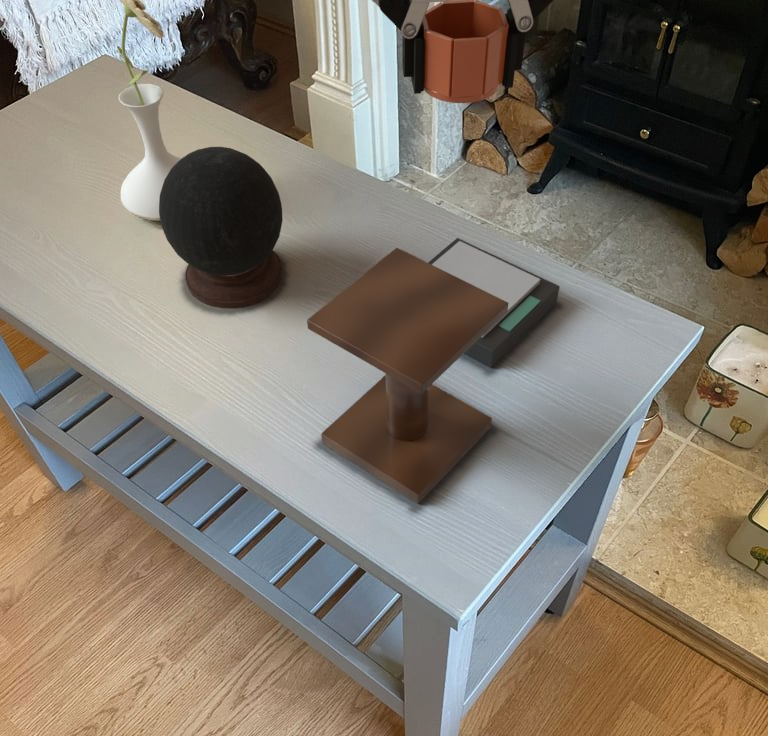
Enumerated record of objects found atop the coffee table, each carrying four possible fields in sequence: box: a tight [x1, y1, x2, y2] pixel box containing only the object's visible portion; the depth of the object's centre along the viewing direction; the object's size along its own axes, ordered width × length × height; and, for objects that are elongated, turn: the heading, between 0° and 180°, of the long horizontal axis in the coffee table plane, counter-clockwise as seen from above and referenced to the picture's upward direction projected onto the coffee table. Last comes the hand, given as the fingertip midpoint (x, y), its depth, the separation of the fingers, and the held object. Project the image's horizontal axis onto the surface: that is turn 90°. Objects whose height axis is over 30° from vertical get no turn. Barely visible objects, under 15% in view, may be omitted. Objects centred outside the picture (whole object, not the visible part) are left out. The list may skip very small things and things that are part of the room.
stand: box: [306, 247, 509, 505], centre depth 73 cm, size 12×12×16 cm
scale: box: [427, 237, 561, 369], centre depth 89 cm, size 14×13×3 cm
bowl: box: [421, 0, 509, 104], centre depth 60 cm, size 6×6×4 cm
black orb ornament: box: [159, 146, 283, 309], centre depth 88 cm, size 13×13×15 cm
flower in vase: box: [116, 0, 183, 222], centre depth 93 cm, size 13×11×25 cm
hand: (460, 79), depth 62 cm, fingers closed on bowl, 6 cm apart
